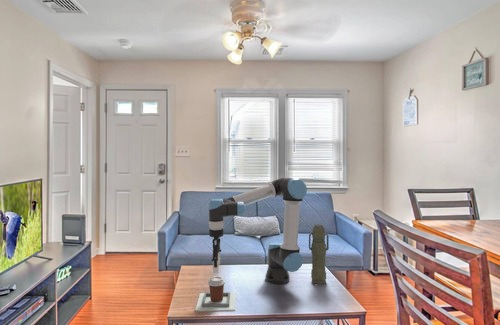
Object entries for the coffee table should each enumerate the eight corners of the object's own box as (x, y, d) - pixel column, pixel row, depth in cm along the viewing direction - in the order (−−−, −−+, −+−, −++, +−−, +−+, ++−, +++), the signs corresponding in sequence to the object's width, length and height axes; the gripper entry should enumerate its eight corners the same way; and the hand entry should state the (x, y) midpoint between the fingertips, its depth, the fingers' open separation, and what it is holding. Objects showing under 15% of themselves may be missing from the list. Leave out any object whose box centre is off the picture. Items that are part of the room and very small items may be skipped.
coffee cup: (204, 303, 165) (204, 280, 165) (212, 296, 174) (212, 274, 174) (220, 305, 162) (220, 282, 162) (228, 298, 171) (227, 276, 170)
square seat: (235, 293, 178) (235, 290, 178) (235, 310, 158) (235, 306, 158) (200, 294, 178) (200, 290, 178) (195, 311, 158) (195, 307, 158)
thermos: (330, 284, 190) (330, 226, 190) (310, 285, 190) (310, 227, 190) (326, 279, 199) (326, 223, 199) (307, 279, 199) (307, 224, 199)
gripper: (211, 223, 180) (211, 260, 180) (206, 234, 155) (207, 277, 155) (224, 223, 180) (224, 260, 180) (222, 234, 155) (222, 277, 155)
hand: (216, 268), depth 168 cm, fingers open, 13 cm apart
